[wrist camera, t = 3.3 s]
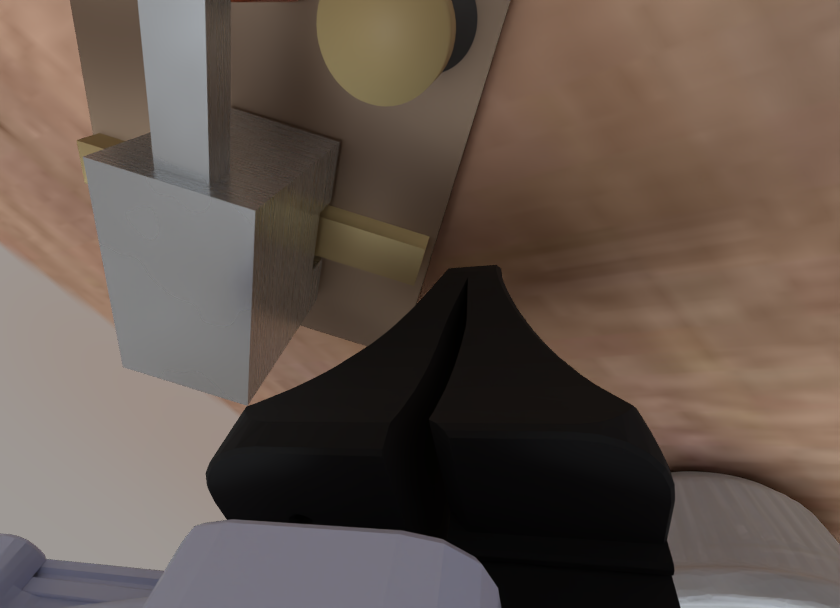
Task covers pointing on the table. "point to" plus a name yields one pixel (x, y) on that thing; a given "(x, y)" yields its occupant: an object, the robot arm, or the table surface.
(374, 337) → the board
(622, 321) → the table surface
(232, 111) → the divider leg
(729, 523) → the ramekin
